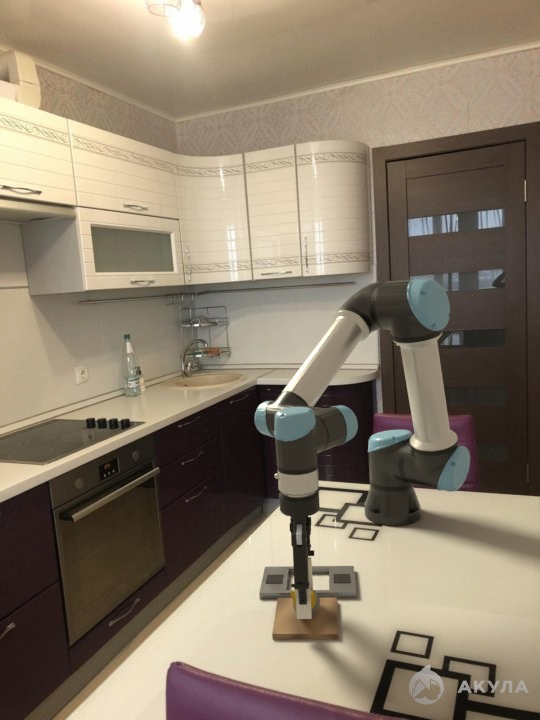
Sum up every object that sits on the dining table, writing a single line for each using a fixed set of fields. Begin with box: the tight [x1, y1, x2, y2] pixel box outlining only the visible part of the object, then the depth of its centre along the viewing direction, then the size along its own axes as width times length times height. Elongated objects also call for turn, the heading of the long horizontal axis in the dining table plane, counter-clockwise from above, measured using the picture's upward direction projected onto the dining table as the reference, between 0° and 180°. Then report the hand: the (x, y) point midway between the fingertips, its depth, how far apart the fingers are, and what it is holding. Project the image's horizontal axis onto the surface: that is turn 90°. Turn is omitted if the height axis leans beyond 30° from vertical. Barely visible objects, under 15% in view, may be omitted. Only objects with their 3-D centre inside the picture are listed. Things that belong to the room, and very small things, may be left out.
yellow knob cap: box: [290, 588, 320, 616], centre depth 107 cm, size 5×5×10 cm
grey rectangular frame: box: [258, 565, 357, 599], centre depth 121 cm, size 20×11×1 cm, turn 84°
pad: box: [271, 598, 339, 640], centre depth 108 cm, size 12×12×1 cm
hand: (305, 602), depth 108 cm, fingers open, 9 cm apart
